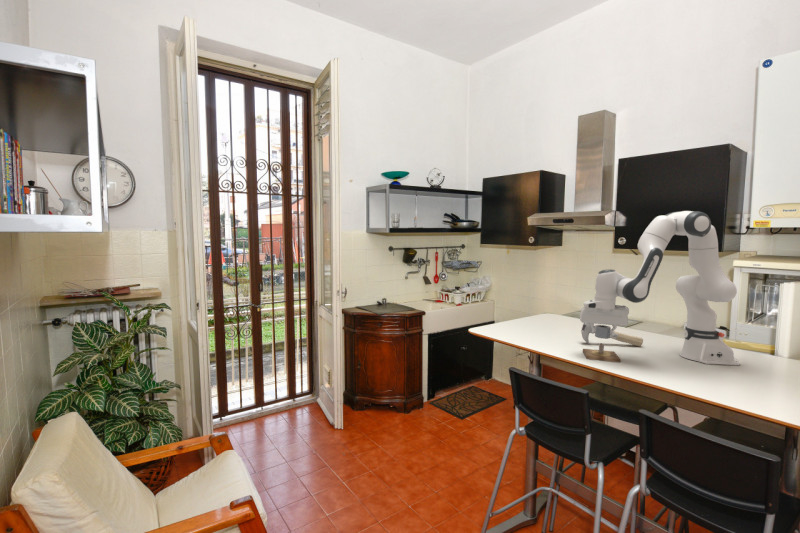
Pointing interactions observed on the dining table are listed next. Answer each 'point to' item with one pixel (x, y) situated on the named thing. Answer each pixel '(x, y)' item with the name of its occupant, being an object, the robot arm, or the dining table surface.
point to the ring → (602, 331)
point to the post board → (601, 354)
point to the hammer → (612, 336)
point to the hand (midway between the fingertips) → (602, 333)
